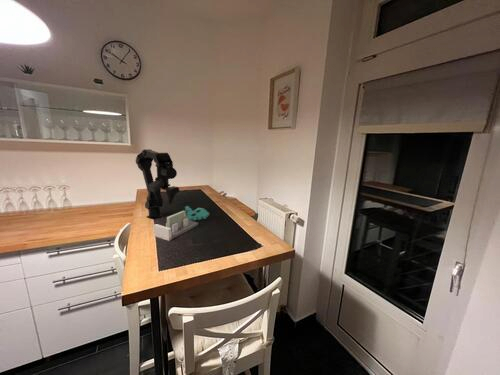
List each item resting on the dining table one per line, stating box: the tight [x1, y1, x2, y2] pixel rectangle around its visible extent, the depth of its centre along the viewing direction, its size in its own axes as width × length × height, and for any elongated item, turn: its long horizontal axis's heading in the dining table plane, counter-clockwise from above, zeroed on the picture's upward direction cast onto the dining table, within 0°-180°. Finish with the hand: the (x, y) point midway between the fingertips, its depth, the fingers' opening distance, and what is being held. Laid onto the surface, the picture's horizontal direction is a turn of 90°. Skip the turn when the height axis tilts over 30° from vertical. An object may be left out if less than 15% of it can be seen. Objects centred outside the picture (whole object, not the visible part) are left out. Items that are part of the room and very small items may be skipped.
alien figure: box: [184, 205, 210, 222], centre depth 136 cm, size 20×2×20 cm
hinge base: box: [153, 218, 199, 242], centre depth 113 cm, size 10×22×6 cm, turn 155°
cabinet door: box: [166, 210, 187, 232], centre depth 112 cm, size 3×12×8 cm, turn 155°
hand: (163, 202), depth 119 cm, fingers open, 9 cm apart
